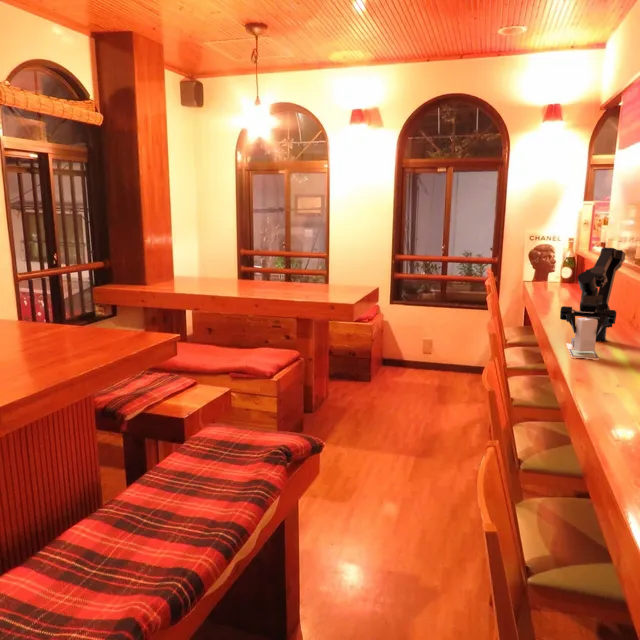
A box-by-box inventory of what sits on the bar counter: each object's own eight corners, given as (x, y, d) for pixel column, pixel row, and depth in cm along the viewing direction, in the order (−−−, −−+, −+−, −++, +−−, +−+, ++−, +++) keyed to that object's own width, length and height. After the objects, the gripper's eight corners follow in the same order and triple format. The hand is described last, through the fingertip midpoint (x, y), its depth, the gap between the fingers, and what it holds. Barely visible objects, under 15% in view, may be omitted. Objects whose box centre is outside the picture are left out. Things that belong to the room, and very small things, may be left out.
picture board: (565, 345, 218) (566, 337, 218) (590, 347, 216) (591, 339, 215) (571, 358, 200) (572, 349, 199) (598, 360, 197) (599, 351, 196)
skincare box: (588, 348, 205) (591, 317, 203) (595, 351, 201) (598, 319, 198) (572, 349, 205) (575, 317, 202) (579, 352, 200) (582, 320, 198)
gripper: (563, 285, 205) (558, 319, 198) (619, 288, 197) (616, 324, 190) (562, 302, 214) (557, 335, 207) (616, 306, 206) (613, 340, 198)
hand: (585, 333), depth 200 cm, fingers closed on skincare box, 7 cm apart
